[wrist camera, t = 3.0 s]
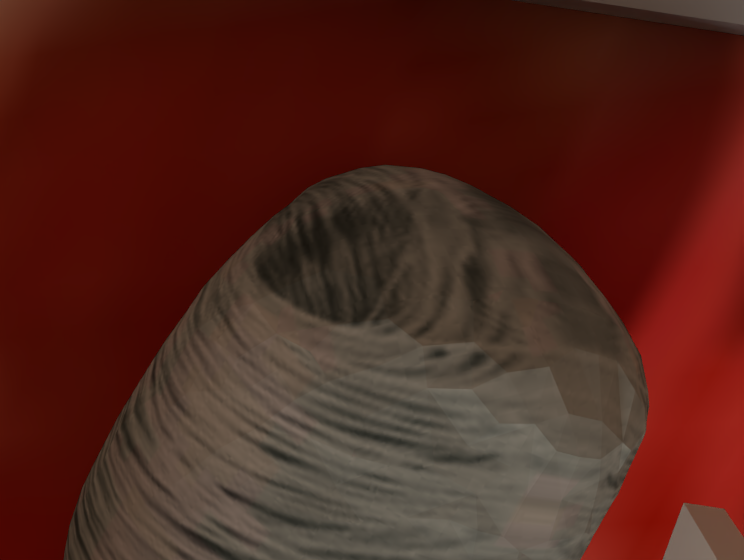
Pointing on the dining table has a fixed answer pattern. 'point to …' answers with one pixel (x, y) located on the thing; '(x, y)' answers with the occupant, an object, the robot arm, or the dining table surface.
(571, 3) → the plate
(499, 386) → the spool
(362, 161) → the dining table surface
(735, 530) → the robot arm
